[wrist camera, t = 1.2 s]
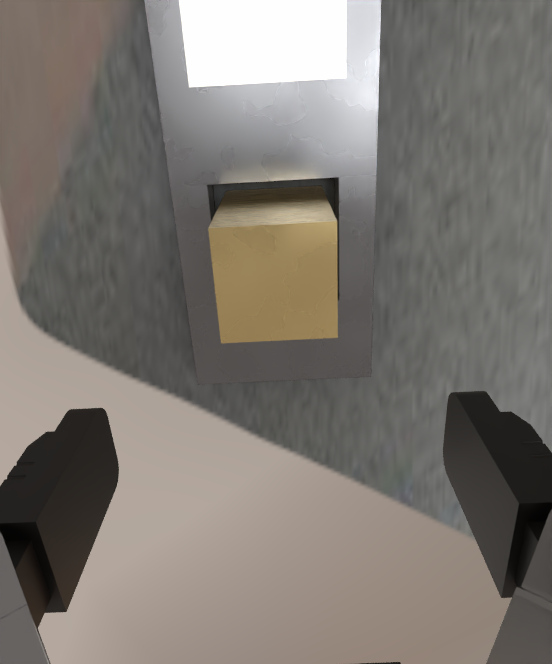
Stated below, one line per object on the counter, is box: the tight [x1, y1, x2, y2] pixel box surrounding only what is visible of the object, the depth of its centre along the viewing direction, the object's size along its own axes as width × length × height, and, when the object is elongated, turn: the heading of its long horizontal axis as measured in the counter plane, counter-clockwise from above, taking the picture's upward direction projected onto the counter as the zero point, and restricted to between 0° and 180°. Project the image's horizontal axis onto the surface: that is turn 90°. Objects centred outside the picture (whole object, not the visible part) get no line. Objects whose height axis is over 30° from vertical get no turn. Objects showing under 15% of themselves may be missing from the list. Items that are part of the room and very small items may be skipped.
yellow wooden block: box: [208, 186, 338, 343], centre depth 25 cm, size 5×5×8 cm
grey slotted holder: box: [144, 0, 381, 385], centre depth 26 cm, size 24×10×2 cm, turn 3°
